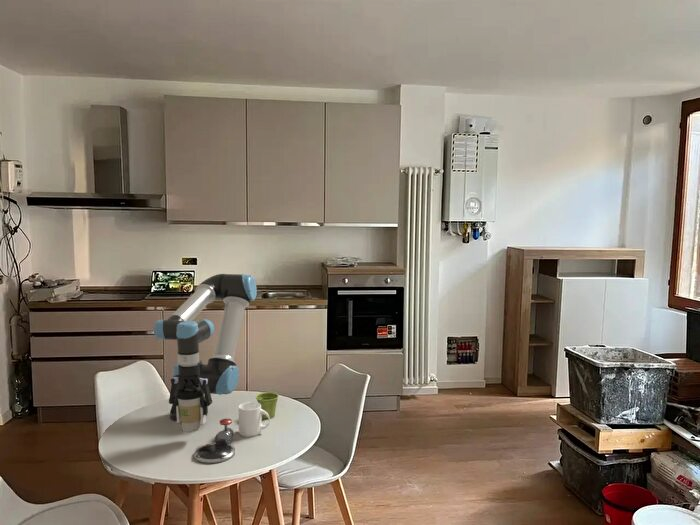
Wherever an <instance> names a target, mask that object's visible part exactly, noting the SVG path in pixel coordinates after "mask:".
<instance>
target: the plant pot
mask: <svg viewBox="0 0 700 525" xmlns="http://www.w3.org/2000/svg"><path fill="white" fill-rule="evenodd" d="M278 398H279V394H278V393H276V392H263V393H262V392H261V393H259V394H256V396H255V399H256V402H257V403H260V404H261V409H263V410H264V411H266V412H267V413H268V415H269V417H270V419H272V417H273V418H274V417H275V416H276V408H277V402H278ZM265 418H267V419H268V417H267V416H266V415H264V414H261V419H265Z"/></svg>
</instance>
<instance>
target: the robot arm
mask: <svg viewBox="0 0 700 525" xmlns="http://www.w3.org/2000/svg"><path fill="white" fill-rule="evenodd" d="M257 292H258V291H257V283H256V280H255V278H254V276H252V275H250V274H245V273H241V274H240V273H237V274H236V273H232V274H231V273H219V274H215V275H211V276H210V277H208V278H207V279H205V280H203V281H202V282H201V283H199V284H198V285H197V286H196V287H195V290H194V293H192V294H191V295H190V296H189V297H188V299H186V300H185V301H184V302H183V303H182V304H181V305H180V306H179V307H178V308H177V309H176V310H175V311H174V312H173V313H172V314H171V315H170V316H169V317H168V318H167V319H165V318H164V319H158V320H157V321H156V322H155V323H154V326H153V333H154V336H155V338H156V339H159V340H167V341H168V340H171V341H173V340H174V341H176V343H177V345H176V347H177V363H176V364H174V366H173V369H172V378H170V383H171V385H170V386H171V387H170V392H169V399H168V404H170V405H171V408H170V411H169V418H170V419H171V421H174V422H176V423H177V424H179V423H182V421H181V416H180V411H179V405H178V403H179V402H178V398H177V397H176V396H177V393H178V390H179V389H180V390H179V391H183V390H185V389H188V388H189V389H193V391H194V392H196V391H197V392H198V391H199V390H201V388H202V390H203V392H204V395H203V396H202V397H200V403H201V405H202V406H201V407H200V412H201V425H204V424H205V423H206V422H207V415H208V414H209V413H208V412H209V411H208V410H209V408H208V407H209V406H211V405H212V403H213V399H212V395H219V396H221V395H230V394H232V392H234V391H235V389H236V388H237V386H238V384H239V379H240V369H239V368H238V366H237V363H236V361H235V355H236V350H237V346H238V341H239V338H240V337H239V336H240V334H241V333H240V332H241V328H242V323H243V318H244V315H245V310H246V308H248V307H249V306H250V303H251V302H253V301H255V300H256V298H257ZM217 300H222V301H223V303H224V304H225V305H224V310H223V314H222V318H221V322H220V327H219V331H218V334H217V339H216V344H215V348H214V352H213V356H211V357H209V358H208V361H207V364H203V361H202V359H200V348H199V347H200V346H199V344H200V343H202V342H204V341H205V340H208V339H210V337H212V336H213V334H215V333H214V332H215V325H214V323H213V322H212V321H211V320H209V319H207V318H205V319H200V320H195V318H196V317H197V316H198V315H199V314H200V313H201V312H202V311H203V310H204V308H205V307H207V305H209V304H212V303H214V301H217ZM194 320H195V321H194ZM200 387H201V388H200Z"/></svg>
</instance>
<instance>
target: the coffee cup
mask: <svg viewBox="0 0 700 525" xmlns="http://www.w3.org/2000/svg"><path fill="white" fill-rule="evenodd" d="M200 388H201V387H200ZM179 390H180V389H179ZM179 390H178V393H177V396H176V397H177V398H178V402H179V403H178V405H179V411H180V416H181V421H182V422H181V425H182V431H183V432H186V433H193V432H194V433H195V432H197V431H199V430H200V429H201V425H202V424H201V412H200V407H201V406H202V405H201V403H200V397H202V396H203V395H204V392H203V390H202V388H201V390H199V391H198V392H197V391H196V392H194V391H193V389H189V388H188V389H185V390H183V391H179ZM204 396H205V395H204Z"/></svg>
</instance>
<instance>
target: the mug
mask: <svg viewBox="0 0 700 525" xmlns="http://www.w3.org/2000/svg"><path fill="white" fill-rule="evenodd" d="M261 414H264V415H266V416H267V417H268V418H267V419H268V422H267V424H263V423H262V418H261ZM270 422H271V418H270V417H269V415H268V413H267V412H266V411H264V410H263V409H261V404H260V403H258V401H256V402H255V401H249V402H244V403H241V404H239V405H238V433H239V434H240V435H241V436H243V437H251V438H252V437H256V436H258V435H260V434H261V432H262V430H265V429H267V428H268V427H269V426H270Z"/></svg>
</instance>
